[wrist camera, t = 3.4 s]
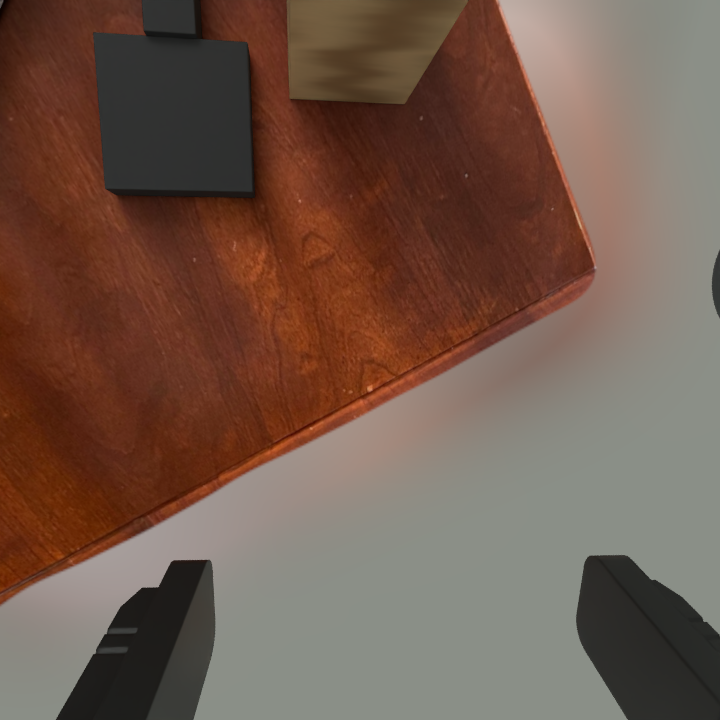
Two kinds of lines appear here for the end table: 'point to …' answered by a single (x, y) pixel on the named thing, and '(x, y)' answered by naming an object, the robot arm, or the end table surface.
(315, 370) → the end table surface
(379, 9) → the stand
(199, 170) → the black pad
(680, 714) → the robot arm
